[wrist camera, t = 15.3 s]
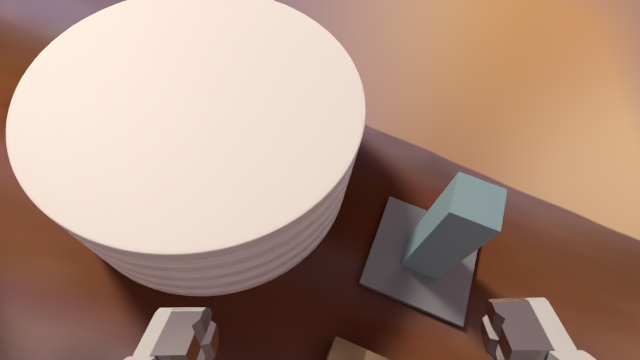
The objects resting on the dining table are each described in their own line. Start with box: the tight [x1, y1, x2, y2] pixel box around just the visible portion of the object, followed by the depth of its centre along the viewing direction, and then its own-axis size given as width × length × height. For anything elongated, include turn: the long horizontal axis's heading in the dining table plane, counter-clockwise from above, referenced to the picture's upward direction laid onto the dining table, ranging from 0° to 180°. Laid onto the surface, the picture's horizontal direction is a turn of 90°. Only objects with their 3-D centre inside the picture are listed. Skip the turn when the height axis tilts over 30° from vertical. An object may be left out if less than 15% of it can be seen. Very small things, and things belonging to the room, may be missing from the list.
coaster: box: [359, 196, 478, 328], centre depth 37 cm, size 10×10×1 cm
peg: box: [401, 172, 507, 280], centre depth 31 cm, size 4×4×12 cm
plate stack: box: [6, 0, 366, 296], centre depth 36 cm, size 28×28×12 cm
